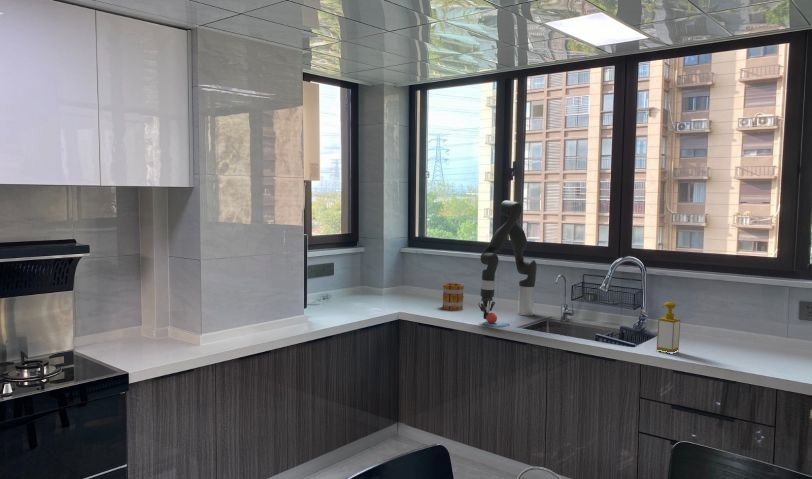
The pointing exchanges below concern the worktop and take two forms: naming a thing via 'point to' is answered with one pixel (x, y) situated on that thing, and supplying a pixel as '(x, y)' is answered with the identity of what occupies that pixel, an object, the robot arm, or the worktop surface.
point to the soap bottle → (668, 330)
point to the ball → (491, 318)
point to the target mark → (497, 324)
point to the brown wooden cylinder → (452, 296)
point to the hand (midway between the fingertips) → (485, 318)
